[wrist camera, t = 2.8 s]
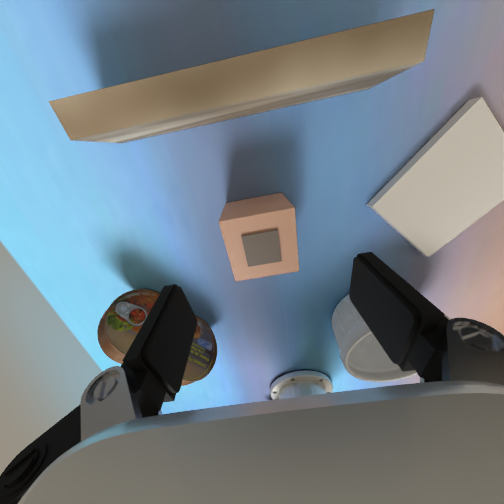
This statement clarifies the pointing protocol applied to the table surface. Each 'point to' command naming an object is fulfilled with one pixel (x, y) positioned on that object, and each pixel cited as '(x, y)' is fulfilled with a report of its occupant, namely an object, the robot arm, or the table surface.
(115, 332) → the tin
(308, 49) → the wooden plank
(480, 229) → the table surface
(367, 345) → the ramekin
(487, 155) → the display tile
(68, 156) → the table surface
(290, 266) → the marked cube
